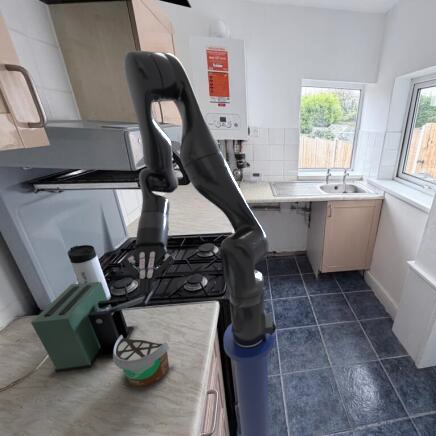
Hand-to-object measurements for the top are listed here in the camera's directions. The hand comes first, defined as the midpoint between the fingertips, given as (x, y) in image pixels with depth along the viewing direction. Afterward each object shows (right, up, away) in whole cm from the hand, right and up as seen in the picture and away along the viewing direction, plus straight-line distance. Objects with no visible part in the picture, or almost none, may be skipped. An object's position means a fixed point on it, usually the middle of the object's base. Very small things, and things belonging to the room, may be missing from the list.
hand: (145, 294), depth 60 cm
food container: (+2, -19, -4) cm, 20 cm away
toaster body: (-17, -15, +3) cm, 23 cm away
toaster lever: (-5, -4, +1) cm, 7 cm away
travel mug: (-28, -8, +19) cm, 35 cm away
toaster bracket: (-11, -15, +4) cm, 19 cm away
